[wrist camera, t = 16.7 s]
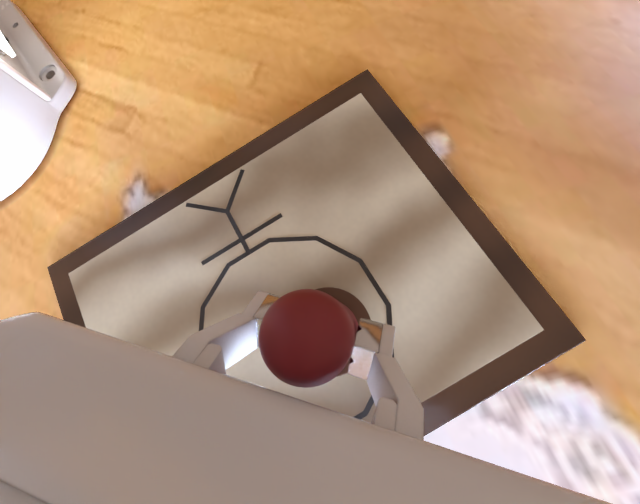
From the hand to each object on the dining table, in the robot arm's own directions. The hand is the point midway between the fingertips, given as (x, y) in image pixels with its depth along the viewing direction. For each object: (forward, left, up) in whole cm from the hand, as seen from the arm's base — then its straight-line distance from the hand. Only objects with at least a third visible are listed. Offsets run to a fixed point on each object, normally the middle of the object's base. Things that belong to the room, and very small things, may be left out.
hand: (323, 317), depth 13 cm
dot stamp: (+1, 0, -5) cm, 5 cm away
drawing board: (-3, -3, -6) cm, 7 cm away
